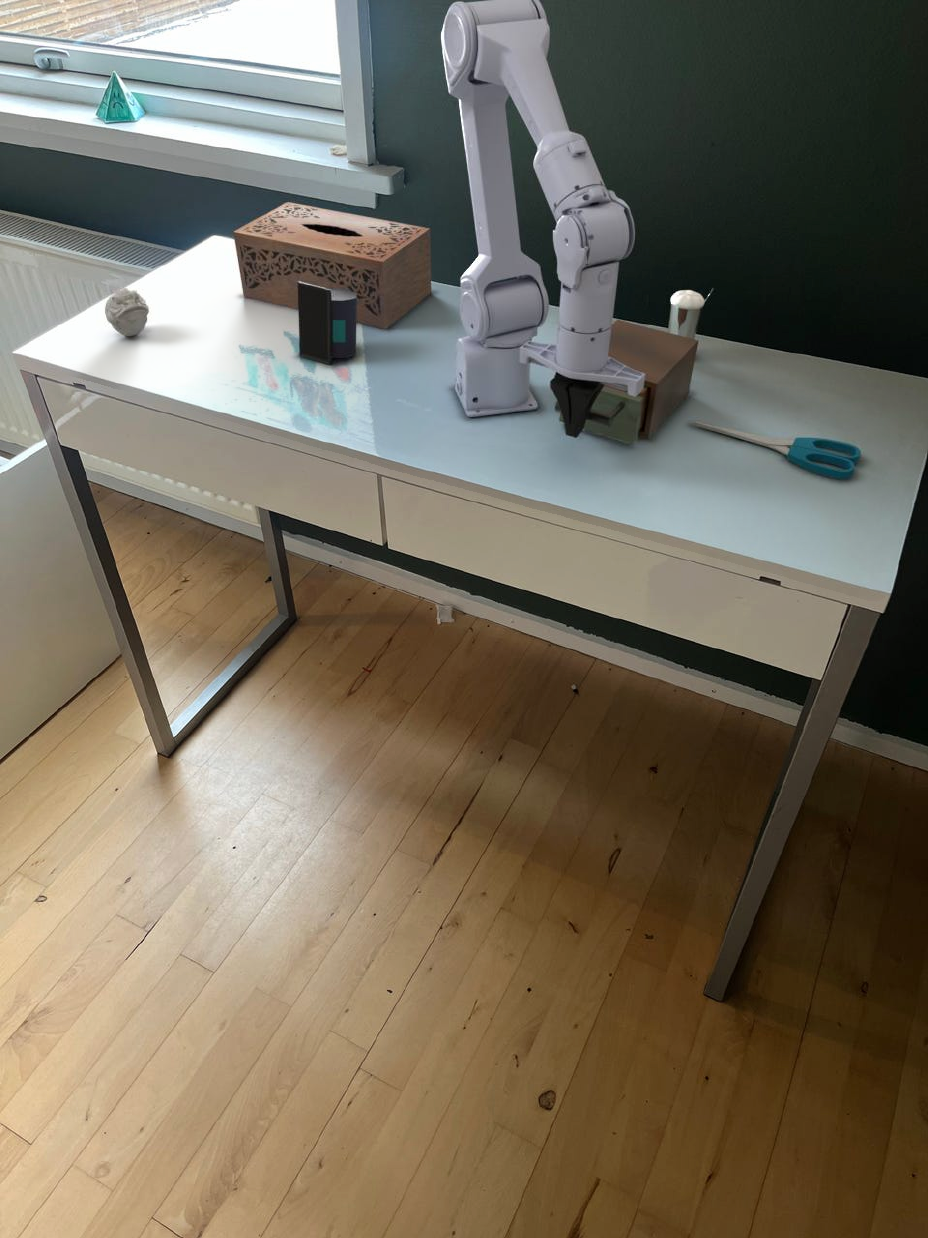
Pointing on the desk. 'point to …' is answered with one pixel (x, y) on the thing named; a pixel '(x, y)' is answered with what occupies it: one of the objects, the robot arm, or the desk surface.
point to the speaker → (326, 323)
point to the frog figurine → (127, 312)
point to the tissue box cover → (335, 260)
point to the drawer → (617, 414)
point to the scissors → (804, 451)
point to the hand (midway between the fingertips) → (574, 432)
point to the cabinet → (655, 366)
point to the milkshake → (685, 313)
